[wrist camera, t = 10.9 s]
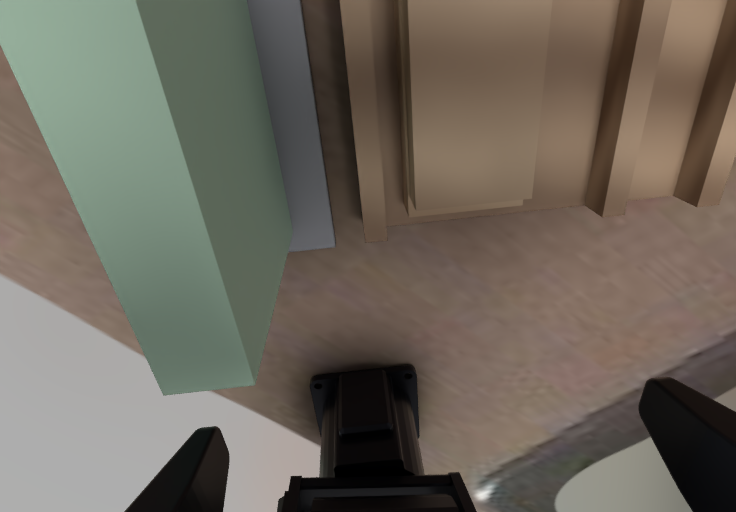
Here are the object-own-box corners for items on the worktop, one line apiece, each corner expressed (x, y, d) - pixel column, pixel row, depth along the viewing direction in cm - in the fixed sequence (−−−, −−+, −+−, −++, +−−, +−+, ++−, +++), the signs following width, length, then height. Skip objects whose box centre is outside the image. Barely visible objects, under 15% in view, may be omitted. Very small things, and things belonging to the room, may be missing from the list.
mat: (335, 241, 21) (335, 246, 20) (208, 255, 21) (205, 261, 20) (294, -45, 15) (292, -48, 15) (120, -28, 15) (112, -30, 15)
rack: (678, 186, 21) (718, 204, 18) (362, 220, 21) (365, 242, 18) (767, -128, 15) (840, -156, 13) (330, -83, 15) (328, -104, 13)
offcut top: (517, 186, 18) (531, 198, 16) (410, 197, 17) (416, 211, 16) (540, -81, 13) (562, -94, 12) (398, -67, 13) (404, -78, 12)
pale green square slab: (293, 231, 20) (255, 385, 11) (242, 237, 20) (163, 395, 11) (244, -13, 15) (111, -79, 6) (177, -6, 15) (-49, -63, 6)
